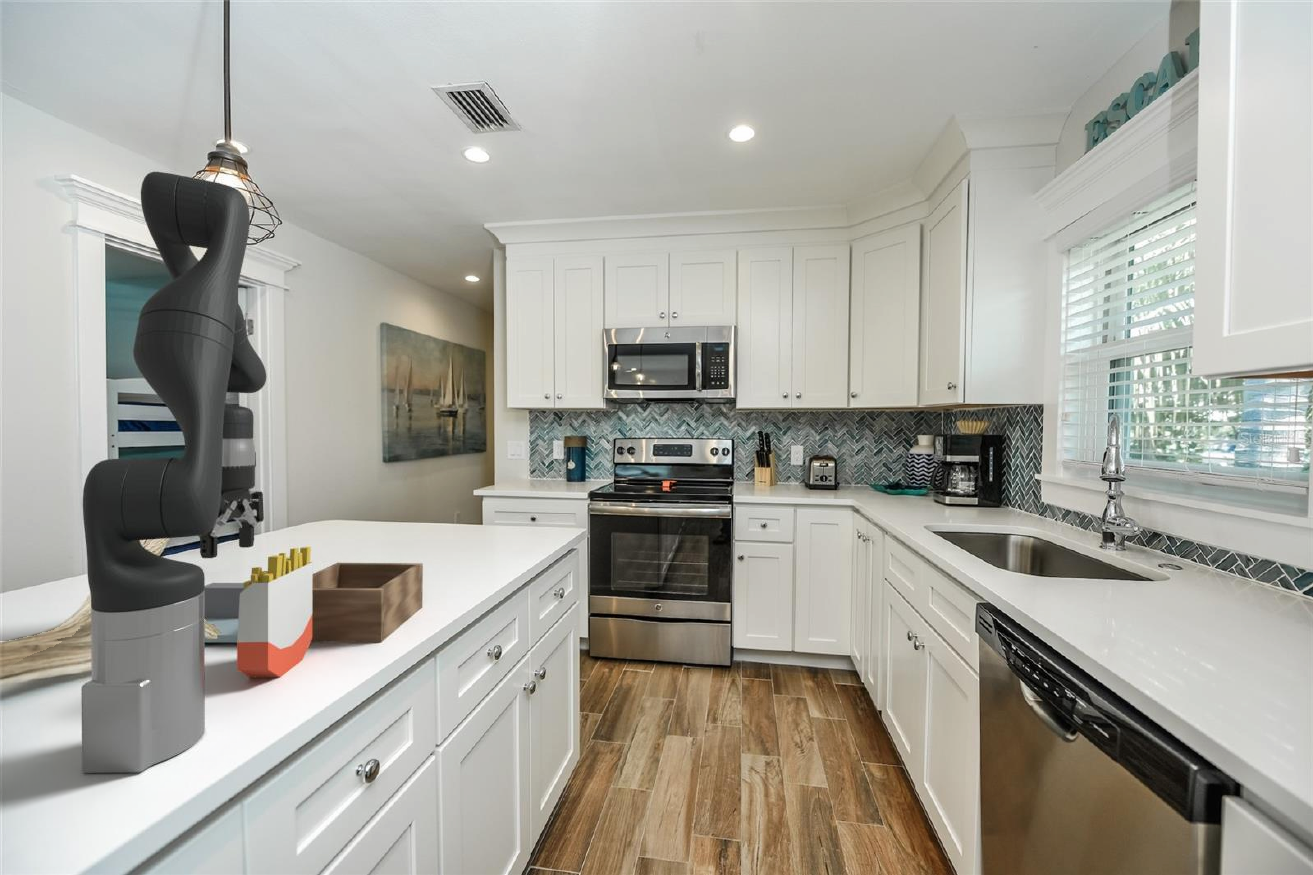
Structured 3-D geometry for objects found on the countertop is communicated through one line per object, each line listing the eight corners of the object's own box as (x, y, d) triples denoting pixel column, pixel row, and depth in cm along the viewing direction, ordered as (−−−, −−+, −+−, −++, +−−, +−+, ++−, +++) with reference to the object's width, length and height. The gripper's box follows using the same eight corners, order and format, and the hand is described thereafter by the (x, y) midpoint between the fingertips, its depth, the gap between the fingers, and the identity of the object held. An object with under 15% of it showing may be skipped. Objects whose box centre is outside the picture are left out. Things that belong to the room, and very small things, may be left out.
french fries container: (234, 687, 73) (234, 560, 72) (282, 653, 83) (283, 542, 83) (268, 686, 73) (268, 560, 72) (312, 652, 84) (313, 542, 83)
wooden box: (381, 642, 88) (381, 590, 88) (279, 642, 87) (279, 589, 87) (422, 607, 105) (422, 563, 105) (337, 606, 104) (337, 562, 104)
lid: (242, 648, 86) (241, 602, 85) (129, 648, 85) (129, 602, 85) (310, 609, 104) (310, 571, 103) (217, 609, 103) (217, 571, 103)
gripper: (218, 466, 87) (218, 562, 87) (277, 461, 101) (277, 543, 101) (172, 465, 86) (172, 562, 87) (238, 461, 101) (237, 543, 101)
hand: (228, 552), depth 94 cm, fingers open, 8 cm apart
